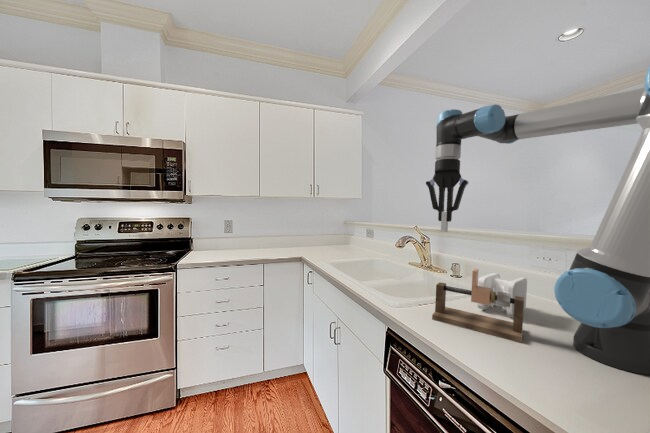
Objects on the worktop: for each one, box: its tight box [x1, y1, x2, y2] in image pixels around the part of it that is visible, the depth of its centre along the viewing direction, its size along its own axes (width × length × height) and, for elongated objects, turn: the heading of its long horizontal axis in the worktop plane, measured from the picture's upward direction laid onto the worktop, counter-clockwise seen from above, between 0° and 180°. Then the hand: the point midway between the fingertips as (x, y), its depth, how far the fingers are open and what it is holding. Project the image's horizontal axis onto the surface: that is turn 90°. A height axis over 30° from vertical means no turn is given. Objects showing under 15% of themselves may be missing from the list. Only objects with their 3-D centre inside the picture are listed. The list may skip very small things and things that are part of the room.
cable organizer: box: [476, 272, 528, 319], centre depth 91 cm, size 15×11×12 cm
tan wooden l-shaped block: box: [470, 268, 491, 305], centre depth 78 cm, size 4×4×9 cm
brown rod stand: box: [431, 281, 524, 344], centre depth 79 cm, size 22×10×10 cm, turn 53°
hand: (444, 231), depth 89 cm, fingers closed
